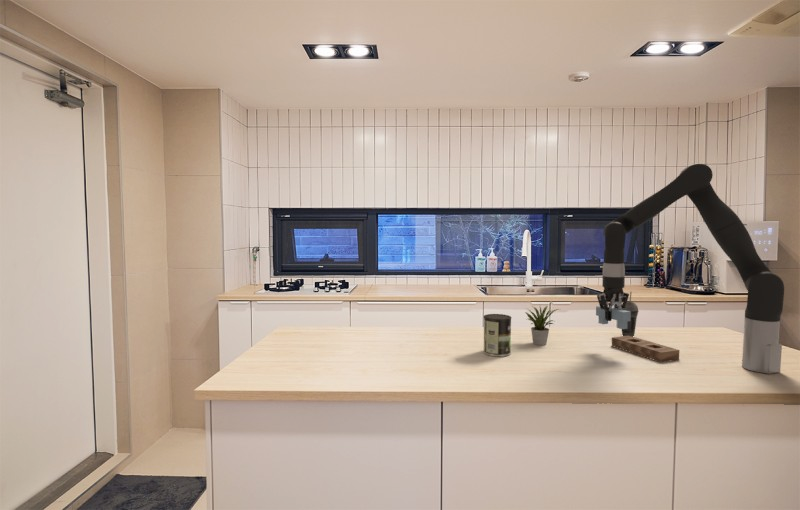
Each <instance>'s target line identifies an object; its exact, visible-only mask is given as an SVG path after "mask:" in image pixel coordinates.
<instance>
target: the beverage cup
mask: <svg viewBox="0 0 800 510" xmlns="http://www.w3.org/2000/svg"><path fill="white" fill-rule="evenodd" d="M622 305H623V303H622ZM622 310H626V311H630V312H631V320H630V321H628V322H627V329H621V336H622V335H623V336H632V337H633V336H634V337H635V333H636V325H637V319H638V314H639V308H638V305H637V303H635V302H634V301H632V291H630V293H629V300H627V303H626V307H625V308H622Z"/></svg>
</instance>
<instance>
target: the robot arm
mask: <svg viewBox="0 0 800 510" xmlns="http://www.w3.org/2000/svg"><path fill="white" fill-rule="evenodd" d="M713 174H714V173H713V171H712V168H711V167H709V165H708V164H705V163H700V162H699V163H692V164H689V165H688V166H686V167H685V168H684V169H682V171H680V173H679V175H678V176H676V177H675V178H674V179H673V180H671V182H670V183H668V184H667V185H666V186H664V187H663V188H661V189H659V190H657V192H655V193H653V194H651V195H650V196H649V197H647V198H645V199H643V200H642V201H640V202H639V203H637V204H636V205H635V206H633V207H632V208H630V209H629V210H627V211H626V212H624V213H623V214H622V215H620V216H618V217H616V218H615V219H613V220H612V221H610V222H609V223H607V224H606V225H605V226H604V228H603V236H604V251H603V263H602V264H603V266H602V283H601V284H602V287H603V292H602V293H600V294H599V293H598V294H597V295H596V298H597V301H598V304H599V305H598V306H600V308H601V309H603V310H605V319H606V320H607V321H608V322H611V321H612V320H613V319H611V315H612V311H611V310H612V308H616V309H621V310H622V308H625V307H626V303H627V301H629V298H630V293H628V292H624V288H625V286H626V285H625V281H626V280H625V279H626V277H625V276H626V274H625V273H626V268H625V267H626V266H625V247H626V246H625V245H626V237H627V234H628V233H630V232H631V231H632V230H634V229H636V228H639V227H641V226H642V225H644V224H646V223H647V222H648V221H650V220H652V219H653V218H655V217H656V216H657V215H659V214H660V213H662V211H664V210H666V209H667V208H668V207H670V206H671V205H672V204H673V203H675V202H677V201H678V200H680V199H682V198H683V197H685V196H687V197H688V198H689V200H691V202H692V203H693V205H694V206H695V207H696V209H697V211H698V212H699V215H700V216H701V218H702V220H703V221H704V224H705V225H706V226H707V229H708V230H709V232H710V233H711V235H712V237H713V238H714V240H715V242H717V244H718V246H719V247H720V249H721V250H722V251H723V253H725V255H726V256H727V257H728V258H729V259H730V261H731V262H732V264H734V267H735V268H736V270H737V273H739V275H740V277H741V280H742V282H743V283H744V287H745V288H746V291H747V300H746V302H747V303H746V308H745V310H744V321H743V322H744V324H743V339H742V342H743V343H742V357H741V361H742V362H741V367H742V368H744V369H745V370H749V371H752V372H756V373H763V374H768V375H770V374H777V373H780V372H781V366H782V365H781V364H782V347H783V344H782V343H779V342H780V326H781V316H782V313H783V308H784V297H785V284H784V281H783V280H782V278H781V277H780V276H779V275H778V274H776V273H773V271H772V270H771V269H769V268H768V266H767V265H766V264H765V262H764V261H763V260H762V259H761V257H760V255H759V254H758V252H757V249H756V247H755V244H754V242H753V239H752V237H751V235H750V233H749V231H748V230H747V229H748V228H747V227H746V226H745V225H744V223H743V222H742V220H741V219H740V217H739V215H737V213H735V211H734V210H733V209H732V208H730V207H729V206H728V205H727V204H726V203H725V202H724V201H723V200H722V199H721V198H720V196H718V194H717V193H716V191H715V189H714V188H713V186H712V183H711V181H712V179H713ZM622 304H623V305H622ZM608 307H609V308H608Z"/></svg>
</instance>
